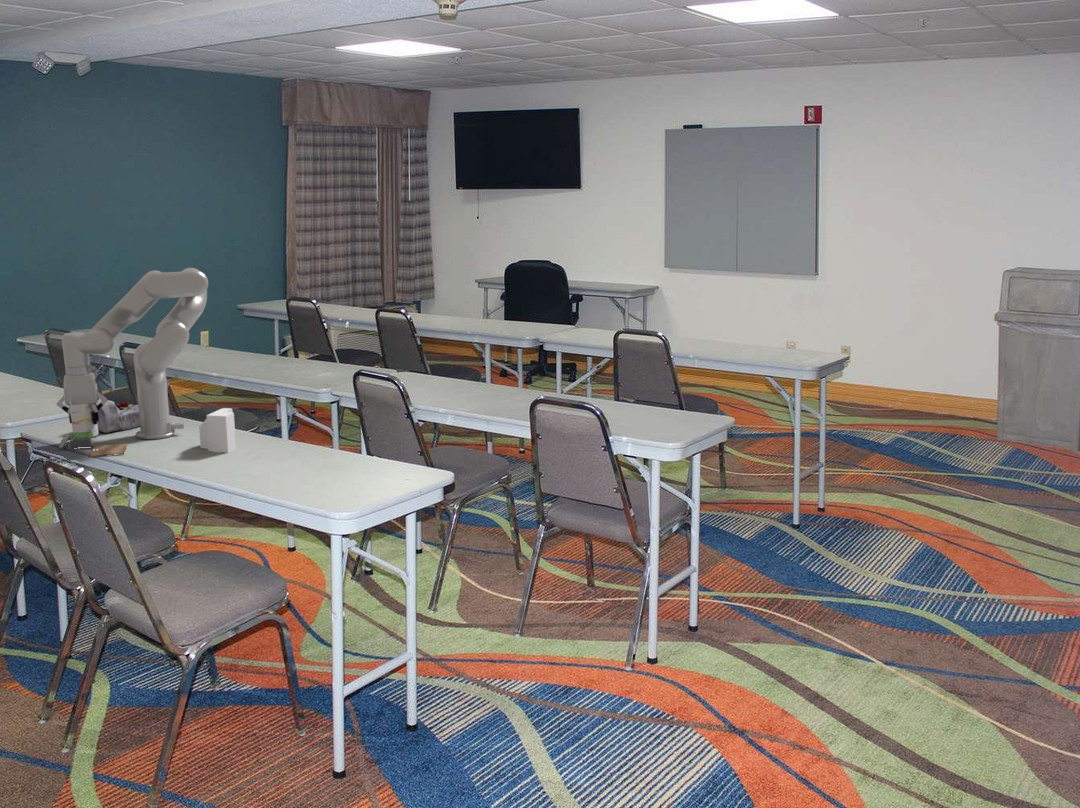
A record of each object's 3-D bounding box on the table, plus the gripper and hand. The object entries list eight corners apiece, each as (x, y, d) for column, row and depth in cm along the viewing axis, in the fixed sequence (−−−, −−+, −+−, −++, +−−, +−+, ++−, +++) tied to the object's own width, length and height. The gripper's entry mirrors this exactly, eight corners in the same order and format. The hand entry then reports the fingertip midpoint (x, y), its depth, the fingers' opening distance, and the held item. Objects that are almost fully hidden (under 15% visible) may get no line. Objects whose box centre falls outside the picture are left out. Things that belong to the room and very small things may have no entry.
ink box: (88, 440, 343) (82, 396, 339) (73, 441, 343) (67, 396, 339) (99, 434, 351) (94, 390, 348) (84, 434, 351) (79, 391, 348)
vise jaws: (97, 435, 356) (96, 427, 355) (90, 448, 340) (90, 439, 339) (66, 437, 353) (65, 429, 352) (58, 450, 337) (57, 441, 336)
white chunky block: (228, 453, 335) (225, 416, 332) (195, 451, 337) (192, 414, 334) (243, 444, 345) (241, 409, 342) (212, 442, 347) (209, 407, 344)
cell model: (79, 401, 358) (125, 392, 376) (82, 432, 360) (127, 421, 378) (108, 404, 353) (152, 395, 371) (110, 436, 355) (154, 424, 373)
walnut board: (127, 445, 343) (127, 443, 343) (124, 454, 332) (123, 453, 332) (94, 447, 340) (94, 445, 340) (89, 457, 329) (89, 455, 329)
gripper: (107, 366, 348) (114, 419, 352) (51, 370, 343) (58, 424, 347) (105, 370, 341) (111, 424, 345) (47, 374, 336) (54, 429, 340)
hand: (84, 423), depth 346 cm, fingers closed on ink box, 6 cm apart
